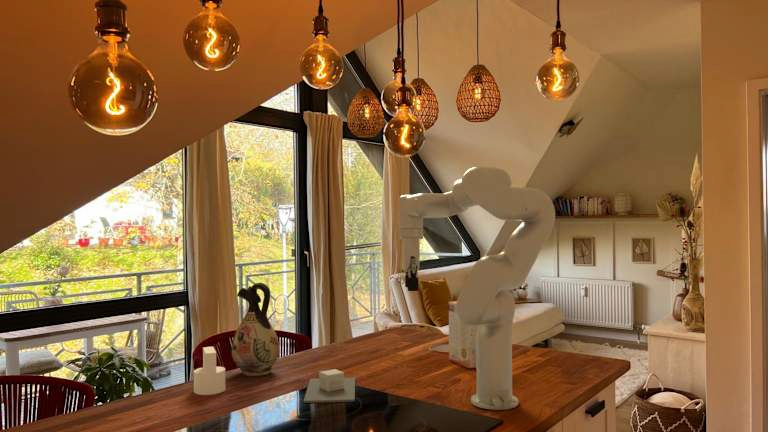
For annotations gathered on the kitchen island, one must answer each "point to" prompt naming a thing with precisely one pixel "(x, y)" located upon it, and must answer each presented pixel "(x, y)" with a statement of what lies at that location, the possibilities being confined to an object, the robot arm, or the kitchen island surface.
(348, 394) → the mat
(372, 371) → the kitchen island surface
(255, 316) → the ceramic jug
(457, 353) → the cracker box
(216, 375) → the cylinder with rectangular tab
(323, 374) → the small box
